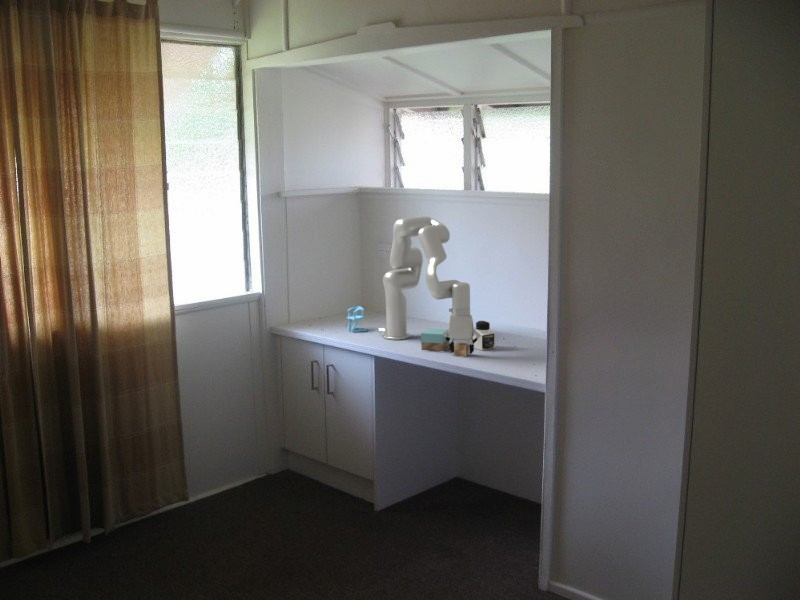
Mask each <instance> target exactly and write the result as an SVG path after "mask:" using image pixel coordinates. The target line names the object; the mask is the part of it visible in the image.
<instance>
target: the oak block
mask: <svg viewBox="0 0 800 600" xmlns="http://www.w3.org/2000/svg"><path fill="white" fill-rule="evenodd" d="M469 345H470V342H462V341H461V342H459V341H457V342H456V343H454V352H453V353H454V357H460V356H463V357H462V358H467V357H468V355H470V354H469Z"/></svg>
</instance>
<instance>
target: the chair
mask: <svg viewBox="0 0 800 600" xmlns="http://www.w3.org/2000/svg"><path fill="white" fill-rule="evenodd" d="M352 310H353V311H352ZM346 311H347V313H348V314H347V315H348V316H346V319H347V320H348V324H347V332H348V331H351V332H353V333H361V332H360V331H362V332H368V328H365V327H363V326H362V327H360V326H357V324H358V323H359V322H360V320H364V319H366V316H364V311H365V308H363V307H362V306H360V305H358V306H352V307H350V308H348V309H347V310H346ZM350 311H352V312H353V315H352V316H351V313H350ZM359 312H361V315H360V314H359ZM352 321H353V325H352ZM351 326H352V327H351ZM356 326H357V327H356ZM355 329H356V330H355ZM351 332H350V333H351Z"/></svg>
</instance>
